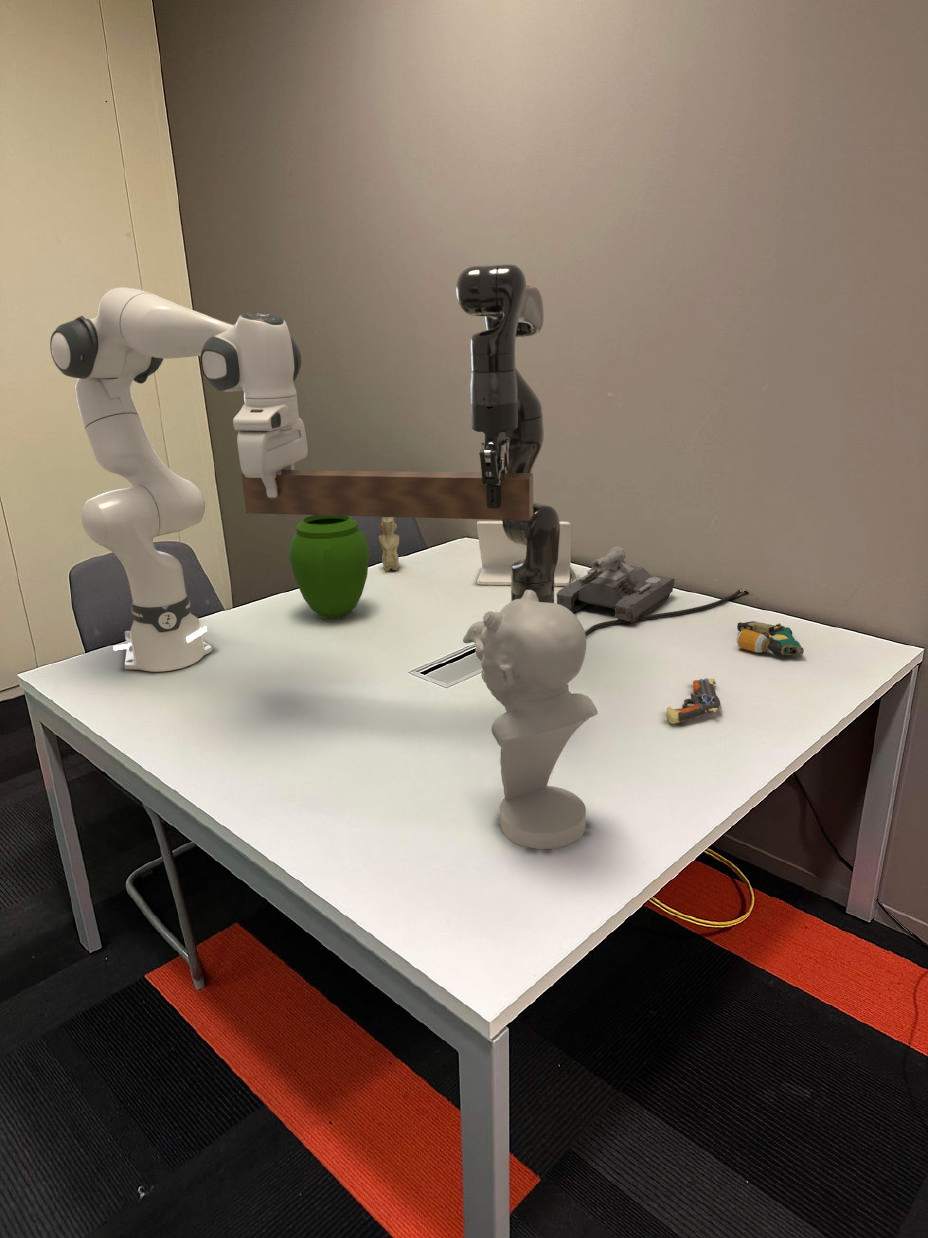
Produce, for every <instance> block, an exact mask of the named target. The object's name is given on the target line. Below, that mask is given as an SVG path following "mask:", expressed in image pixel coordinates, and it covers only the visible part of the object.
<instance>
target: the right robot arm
mask: <svg viewBox="0 0 928 1238" xmlns="http://www.w3.org/2000/svg"><path fill="white" fill-rule="evenodd" d="M455 286H456V287H455V292H456V293H455V294H456V298H457V301H458V302H457V303H458V304H459V306H460V309H462V311H463V312H464V313H466V314H467V315H468V316H473V317H483V319H484V325H485V330H481V331H477V332H475V333H473V334H472V336H471V337H470V345H469V346H470V371H471V372H470V375H471V376H470V385H469V388H470V389H469V391H470V419H471V420H470V421H471V422H470V423H471V429H472V430H473V431H475V432H478V433H483V434H484V437H483V442H481V443H480V444H481V445H480V450H479V453H478V454H479V460H480V470H481V471H480V473H482V482H483V484H485V486H486V492H487V507H488V508H499V507H500V506H501V493H500V484H501V473H532V470H533V467H534V465H535V463H536V461H537V459H538V457H539V455H540V452H541V449H542V447H543V443H544V439H545V431H544V430H545V429H544V417H543V416H544V415H543V406H542V404H541V401H540V399H539V397H538V396H537V394H536V392H535V391H534V390H533V388H532V387H531V386H530V385H529V383H528V382H527V381H526V380H525V378H524V377H523V376H522V374H521V373H520V372H519V370H518V369H517V367H516V339H519V338H520V339H521V338H526V337H533V336H536V335H537V334H539V333H540V332H541V331H542V328H543V326H544V320H545V319H544V318H545V315H544V313H545V312H544V310H545V309H544V302H543V296H542V294H541V291H540V290H539V289H538V288H537V287H536V286H534V285H528V284H527V280H526V276H525V273H524V272H523V271H522V269H521V267H519V266H517V265H516V264H513V263H511V264H490V265H489V264H487V265H472V266H468V267H466V268H464V269H463V270H462V271H461V273H460V274H459V276H458V278H457V280H456V285H455ZM489 473H494V477H489ZM501 521H502V523H503V529H504V532H505V535H506V537H507V538H508V539H509V540H510V541H512V542H514V543H517V544H521V545H524V546H527V549H526V558H525V559H522V560H519V561H516V562H515V563H513V564H512V567H511V585H510V588H511V589H510V597H511V599H510V602H511V601H513V600H516V599H521V598H522V597H523V595H524V592H525V591H526V590H532V591H534V592H535V593H536V595H537V597H538V599H539V602H545V603H555V586H554V572H555V568H556V565H557V562H558V552H559V537H560V522H561V521H560V516H559V514H558V511H557V510H556V509H555V508H554V507H553V506H551V505H548V504H543V503H539V502H536V501H535V502H534V501H533V515H532V517H531V519H530V521H525V520H501ZM747 591H748V590H747ZM747 591H744V592H743V593H744V594H746V595H748V594H750V592H749V591H748V592H747ZM740 594H742V592H740V590H739V589H738V590H737V591H735V592H734V593H732V594H730V595H728V596H726V597H723V598H721V599H719V600H716V601H714V602H710V603H707V604H704V605H699V606H695V607H691V608H687V609H681V610H674V611H668V612H660V613H654V614H645V615H644V616H639V618H638V620H636V621H635V622H637V621H644V620H652V619H659V618H664V617H672V616H678V615H685V614H691V613H694V612H700V611H703V610H707V609H710V608H713V607H717V606H719V605H721V604H724V603H726V602H729V601H730V600H733V599H735V598H736V597H737V596H739V595H740ZM625 623H626V622H625V621H623V620H621V619H619V620H618V619H613V620H607V621H604V622H603V621H602V622H600V623H596V624H593V625H592V626H591V627H589V628H588V629H587V630H586V631H585V635H586V637H588V635H590V634H591V633H593V631H595V630H597V629H599V628H603V627H606V626H612V625H619V624H625Z"/></svg>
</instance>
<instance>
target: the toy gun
mask: <svg viewBox="0 0 928 1238" xmlns="http://www.w3.org/2000/svg"><path fill="white" fill-rule="evenodd" d="M715 685H717V680H716V679H715V678H708V677H706V678H704V679H703V678H700V679H694V680H693V681H692V688H693V692H694V693H690V698H686V699H684V700H683V704H682V706H681V707H682V708H672V707H671V706H667V707H666V717H667V721H668V722H669V723H670V724H678V723H680V722H684V721H688V720H691V719H694V718H697V717H701V716H704V715H707V714H709V713H711V712H713V713H714V714H715V713H717V711H718V709H719V708H722V705H721V700H720V698H719V697H718V695H717V694H716V691H715ZM695 693H696V694H695Z"/></svg>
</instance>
